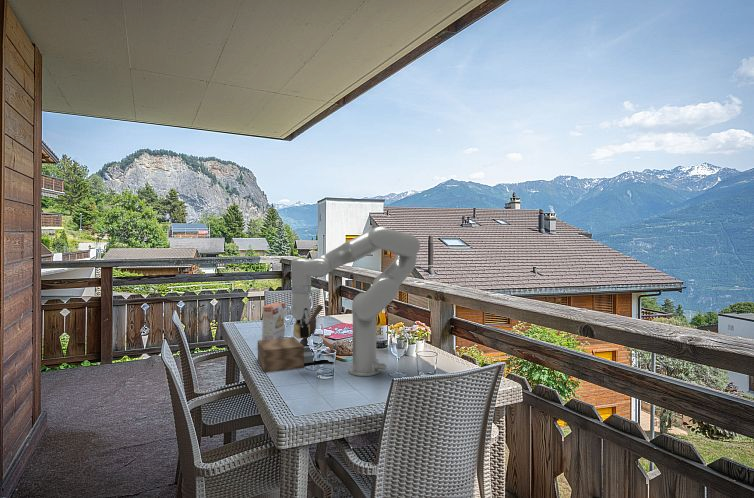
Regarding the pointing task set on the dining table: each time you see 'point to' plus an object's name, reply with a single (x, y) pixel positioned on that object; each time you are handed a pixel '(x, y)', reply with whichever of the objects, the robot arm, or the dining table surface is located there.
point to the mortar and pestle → (312, 324)
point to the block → (297, 330)
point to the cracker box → (273, 321)
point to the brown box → (280, 354)
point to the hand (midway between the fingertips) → (302, 335)
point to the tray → (308, 354)
